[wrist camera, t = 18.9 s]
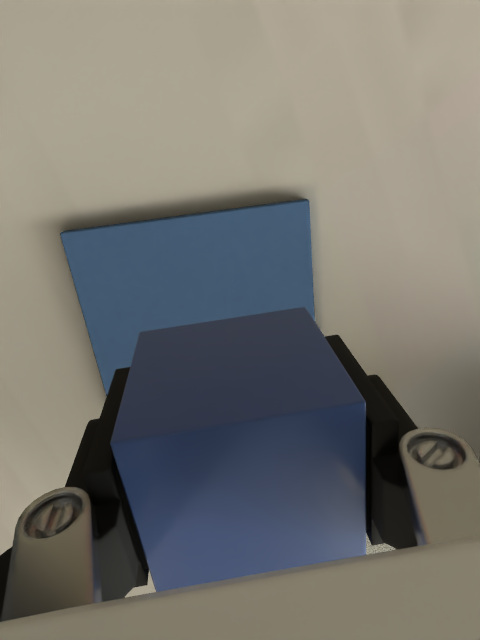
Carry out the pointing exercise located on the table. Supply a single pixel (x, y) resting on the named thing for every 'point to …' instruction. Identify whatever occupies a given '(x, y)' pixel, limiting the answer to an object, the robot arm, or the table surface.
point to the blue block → (241, 449)
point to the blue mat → (188, 272)
